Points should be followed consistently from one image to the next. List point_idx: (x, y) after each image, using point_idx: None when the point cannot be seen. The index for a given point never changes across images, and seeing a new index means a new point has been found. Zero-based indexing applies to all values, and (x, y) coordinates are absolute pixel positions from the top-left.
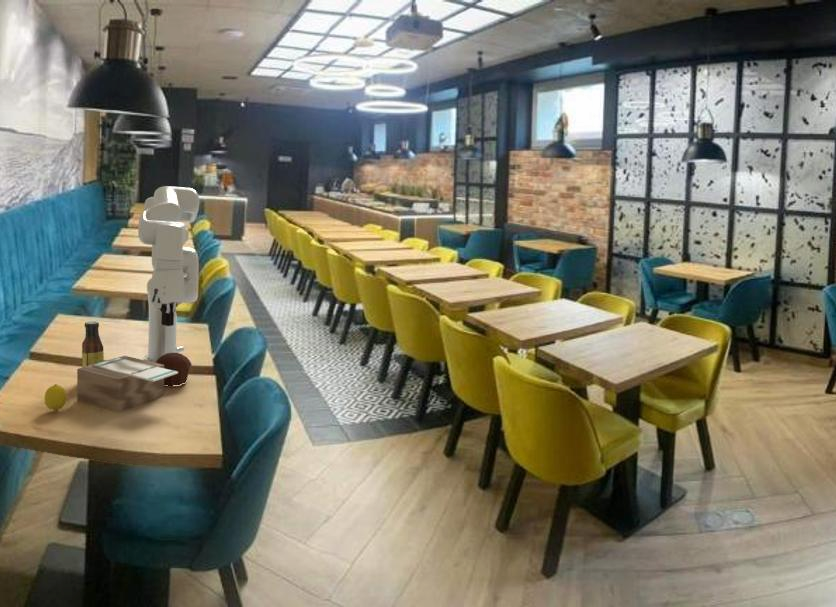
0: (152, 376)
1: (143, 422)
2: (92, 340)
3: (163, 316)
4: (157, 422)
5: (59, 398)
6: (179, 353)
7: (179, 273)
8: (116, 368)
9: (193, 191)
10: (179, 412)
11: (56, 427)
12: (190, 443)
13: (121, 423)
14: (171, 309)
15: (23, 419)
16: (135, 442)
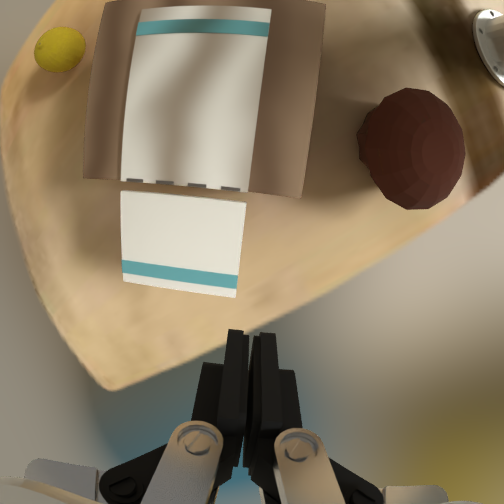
0: (145, 258)
1: (115, 250)
2: None
3: (196, 410)
4: None
5: (47, 70)
6: (457, 162)
7: None
8: (146, 94)
9: None
10: None
11: (27, 131)
12: (106, 359)
13: (89, 215)
14: (264, 489)
15: (33, 55)
16: (57, 290)
